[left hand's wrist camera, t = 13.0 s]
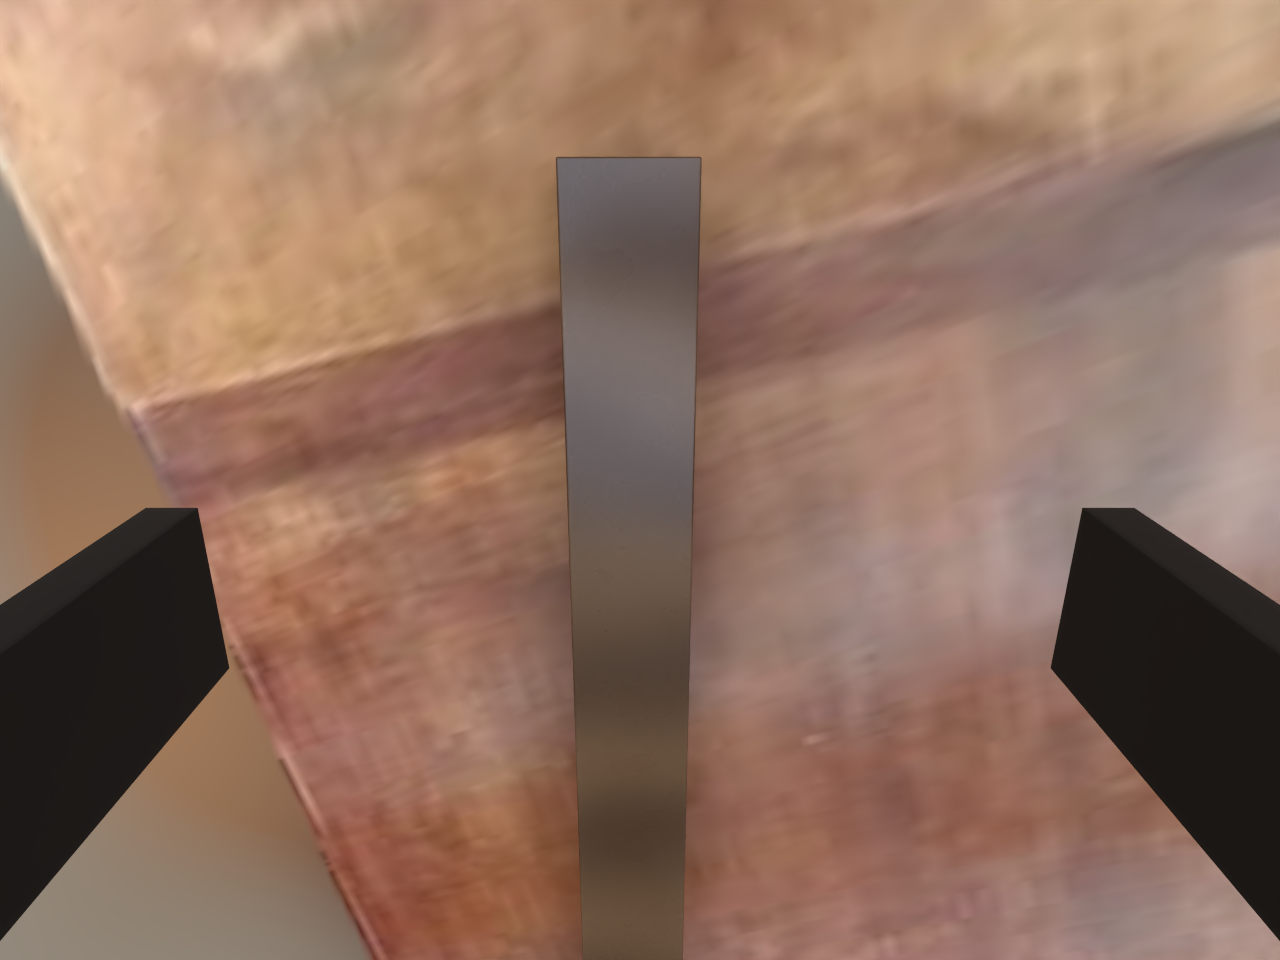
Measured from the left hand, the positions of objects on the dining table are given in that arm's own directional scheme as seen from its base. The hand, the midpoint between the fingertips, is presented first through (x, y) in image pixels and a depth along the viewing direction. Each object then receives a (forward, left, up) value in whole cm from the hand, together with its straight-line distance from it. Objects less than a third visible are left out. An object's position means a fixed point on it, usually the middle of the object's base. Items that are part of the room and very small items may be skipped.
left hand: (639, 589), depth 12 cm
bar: (-25, +11, -24) cm, 36 cm away
